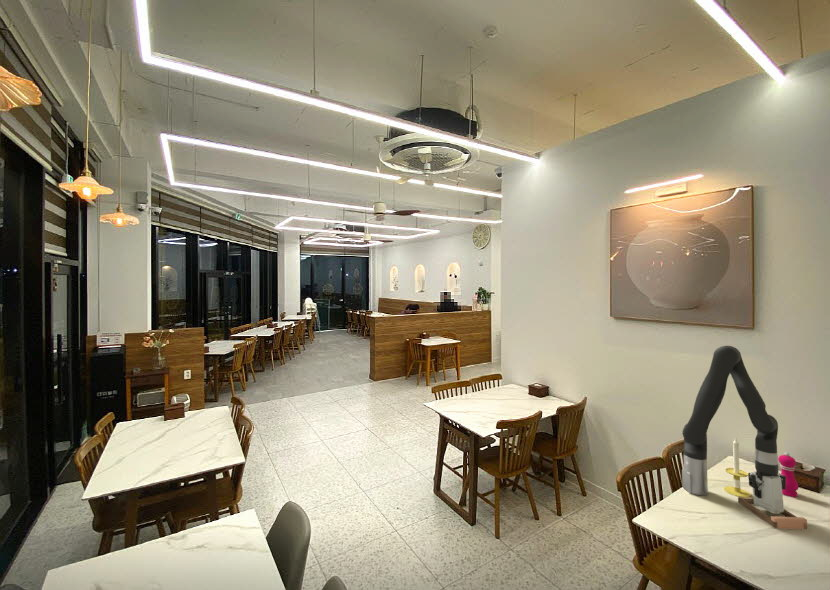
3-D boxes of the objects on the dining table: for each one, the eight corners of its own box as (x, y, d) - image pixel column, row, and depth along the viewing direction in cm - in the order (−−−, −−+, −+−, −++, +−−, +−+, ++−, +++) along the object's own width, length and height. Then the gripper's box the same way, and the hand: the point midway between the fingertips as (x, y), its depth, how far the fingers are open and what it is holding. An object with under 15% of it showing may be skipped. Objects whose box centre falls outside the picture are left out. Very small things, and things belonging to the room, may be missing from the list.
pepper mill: (803, 498, 172) (801, 456, 172) (785, 496, 174) (784, 455, 174) (790, 490, 179) (789, 449, 179) (773, 489, 181) (772, 448, 181)
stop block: (774, 528, 151) (774, 518, 151) (771, 525, 152) (770, 516, 152) (807, 529, 150) (806, 519, 150) (803, 527, 151) (803, 517, 151)
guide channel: (774, 528, 151) (774, 522, 151) (738, 502, 170) (738, 497, 170) (807, 529, 150) (806, 523, 150) (766, 503, 169) (766, 497, 169)
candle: (748, 490, 180) (746, 435, 180) (753, 499, 172) (751, 442, 172) (722, 484, 185) (720, 432, 186) (725, 494, 177) (724, 438, 177)
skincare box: (784, 512, 158) (783, 478, 158) (774, 514, 156) (773, 480, 157) (761, 502, 166) (760, 469, 166) (751, 503, 165) (751, 471, 165)
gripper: (756, 463, 158) (757, 502, 158) (791, 464, 157) (793, 503, 157) (742, 456, 166) (743, 492, 166) (776, 457, 165) (777, 493, 164)
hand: (767, 497), depth 161 cm, fingers closed on skincare box, 7 cm apart
